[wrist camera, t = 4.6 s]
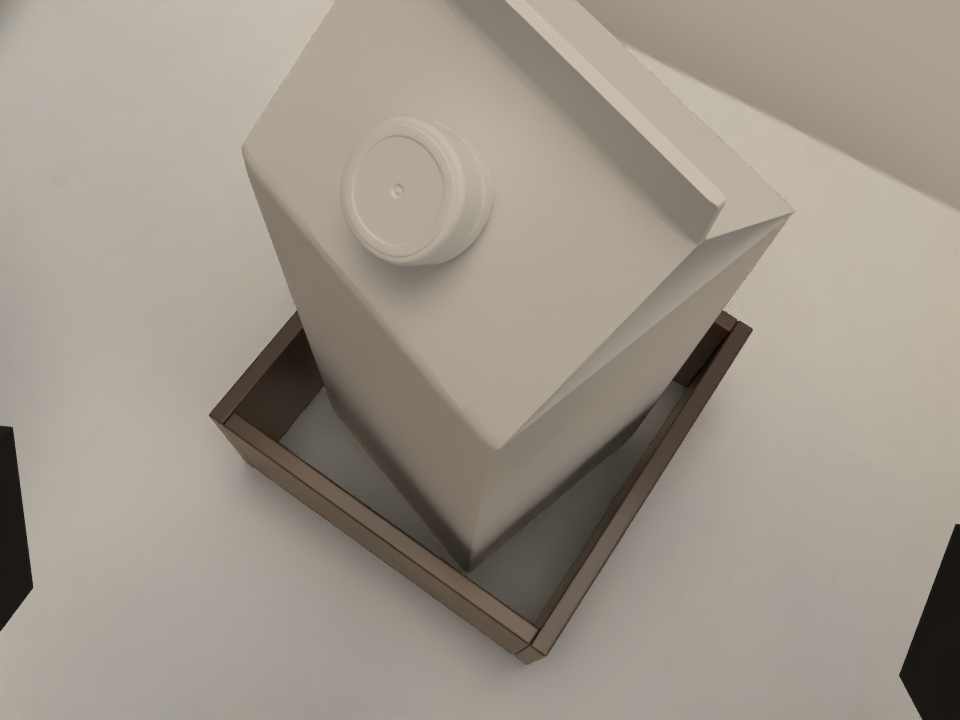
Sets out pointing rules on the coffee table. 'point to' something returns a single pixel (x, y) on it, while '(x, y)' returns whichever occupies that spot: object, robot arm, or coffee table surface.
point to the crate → (255, 434)
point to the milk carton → (496, 244)
